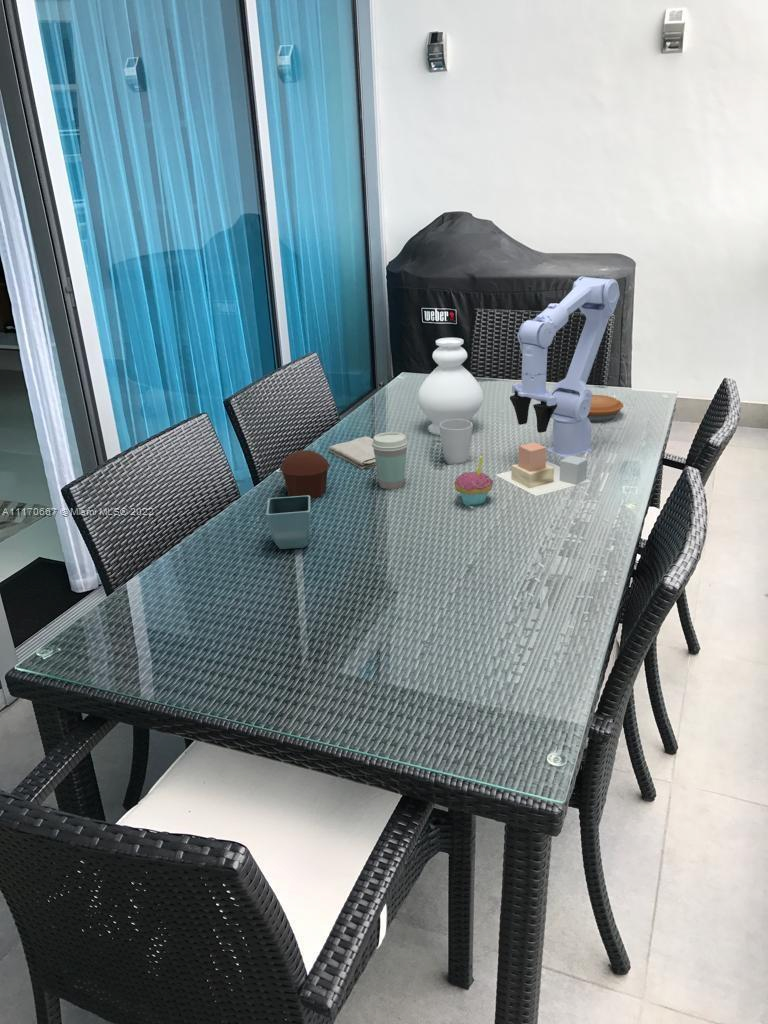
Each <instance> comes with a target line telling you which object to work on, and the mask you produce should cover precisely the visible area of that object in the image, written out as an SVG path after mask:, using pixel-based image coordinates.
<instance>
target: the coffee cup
mask: <svg viewBox="0 0 768 1024" xmlns="http://www.w3.org/2000/svg"><path fill="white" fill-rule="evenodd" d="M406 437H407V436H406V435H405V434H404V433H401V432H398V431H397V432H396V431H391V432H390V431H387V432H381V433H377V434H375V435H374V436H373V438H372V439H373V442H372V447H373V449H374V455H375V461H376V471H377V478H378V483H379V484H378V485H379V486H380V487H381V488H382V489H385V490H386V489H387V490H395V489H397V490H398V489H400V488H402V487H404V484H405V473H406V463H407V462H406V461H407V450H408V449H407V448H408V446H409V443H408V440H407V438H406Z"/></svg>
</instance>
